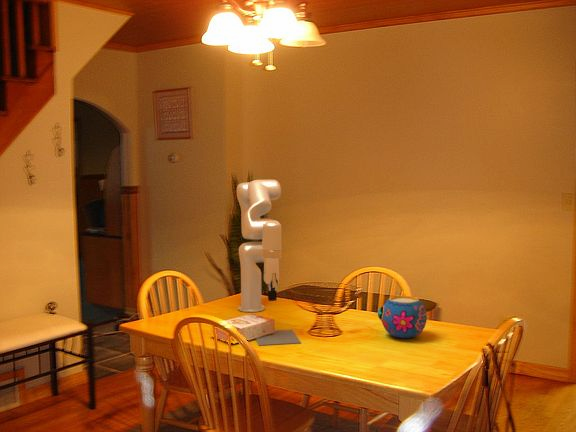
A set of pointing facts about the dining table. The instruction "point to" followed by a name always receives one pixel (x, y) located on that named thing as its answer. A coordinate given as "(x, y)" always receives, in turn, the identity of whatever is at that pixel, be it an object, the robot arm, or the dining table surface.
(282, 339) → the mat
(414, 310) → the ceramic pot
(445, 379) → the dining table surface
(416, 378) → the dining table surface
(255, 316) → the cracker box
